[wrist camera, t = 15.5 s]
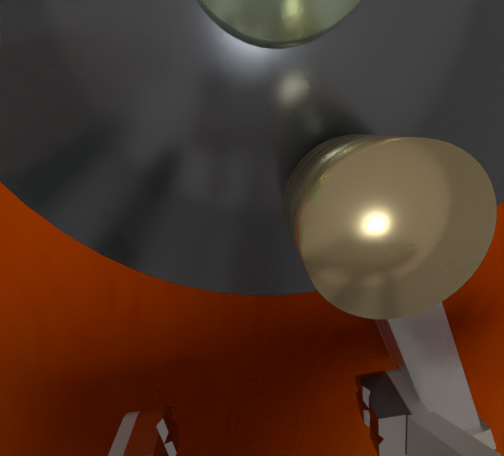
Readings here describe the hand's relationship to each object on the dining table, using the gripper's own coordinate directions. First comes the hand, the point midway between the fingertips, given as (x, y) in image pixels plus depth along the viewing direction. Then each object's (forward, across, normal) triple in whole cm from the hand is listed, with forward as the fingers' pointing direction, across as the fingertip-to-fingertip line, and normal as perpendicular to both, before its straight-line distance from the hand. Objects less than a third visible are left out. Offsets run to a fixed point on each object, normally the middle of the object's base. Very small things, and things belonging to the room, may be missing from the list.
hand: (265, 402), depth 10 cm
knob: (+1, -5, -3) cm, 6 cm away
